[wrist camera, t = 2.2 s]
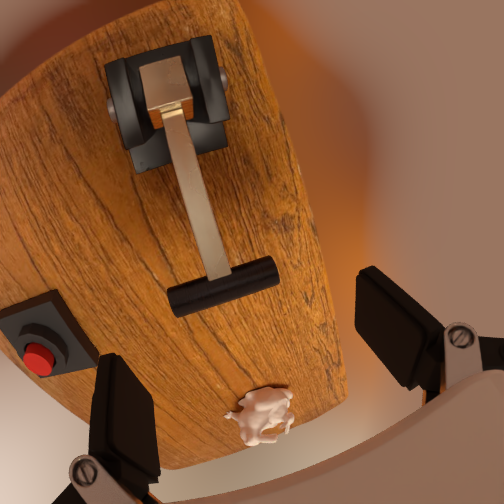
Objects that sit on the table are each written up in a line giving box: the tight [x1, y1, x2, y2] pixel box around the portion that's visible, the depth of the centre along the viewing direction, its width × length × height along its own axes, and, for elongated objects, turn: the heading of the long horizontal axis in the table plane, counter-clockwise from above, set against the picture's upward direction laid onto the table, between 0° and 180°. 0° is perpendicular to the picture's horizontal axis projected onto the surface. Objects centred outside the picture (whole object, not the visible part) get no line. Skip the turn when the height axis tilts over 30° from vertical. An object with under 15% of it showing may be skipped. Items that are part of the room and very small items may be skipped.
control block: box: [0, 289, 99, 378], centre depth 25 cm, size 10×10×4 cm
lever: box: [138, 55, 280, 318], centre depth 13 cm, size 12×5×2 cm, turn 12°
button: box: [23, 342, 54, 376], centre depth 22 cm, size 4×4×2 cm
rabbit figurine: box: [223, 387, 294, 446], centre depth 37 cm, size 12×8×10 cm, turn 106°
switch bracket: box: [104, 35, 230, 174], centre depth 16 cm, size 10×8×12 cm
